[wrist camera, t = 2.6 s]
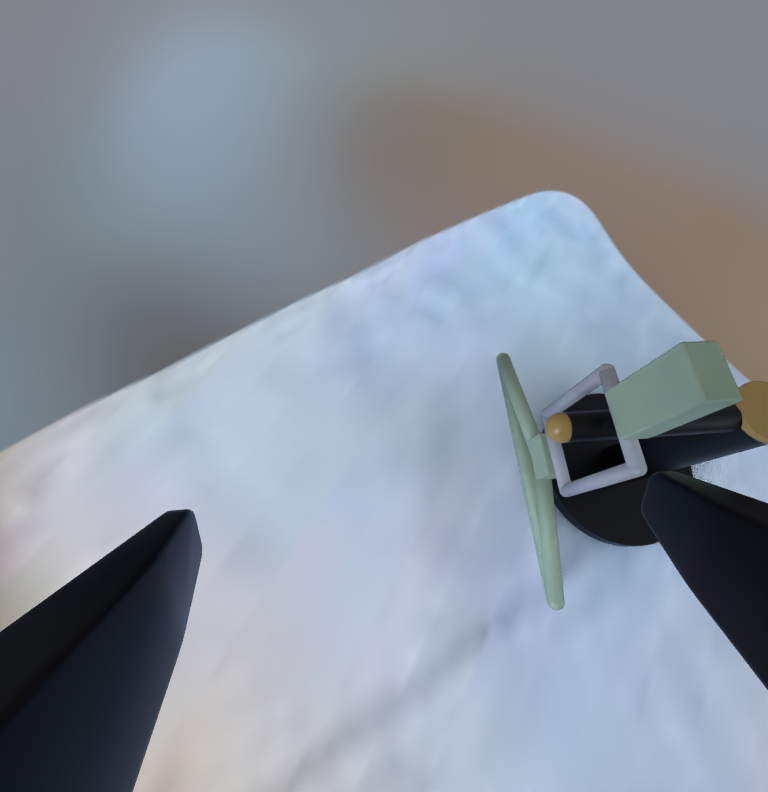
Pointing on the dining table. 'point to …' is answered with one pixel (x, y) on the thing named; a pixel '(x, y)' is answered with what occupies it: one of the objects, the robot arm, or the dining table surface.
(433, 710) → the dining table surface
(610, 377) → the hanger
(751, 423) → the black holder stand
